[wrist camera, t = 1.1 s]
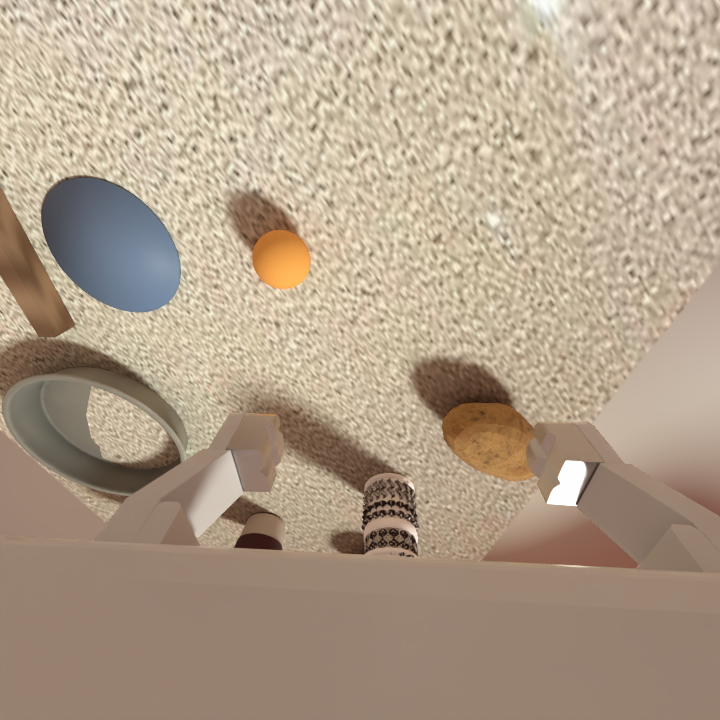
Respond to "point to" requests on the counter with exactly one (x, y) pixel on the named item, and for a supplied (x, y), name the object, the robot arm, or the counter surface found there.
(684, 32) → the counter surface
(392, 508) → the decorative candle
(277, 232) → the ball
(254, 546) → the coffee cup
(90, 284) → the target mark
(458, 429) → the potato
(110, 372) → the grey ring
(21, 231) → the bar
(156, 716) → the robot arm
